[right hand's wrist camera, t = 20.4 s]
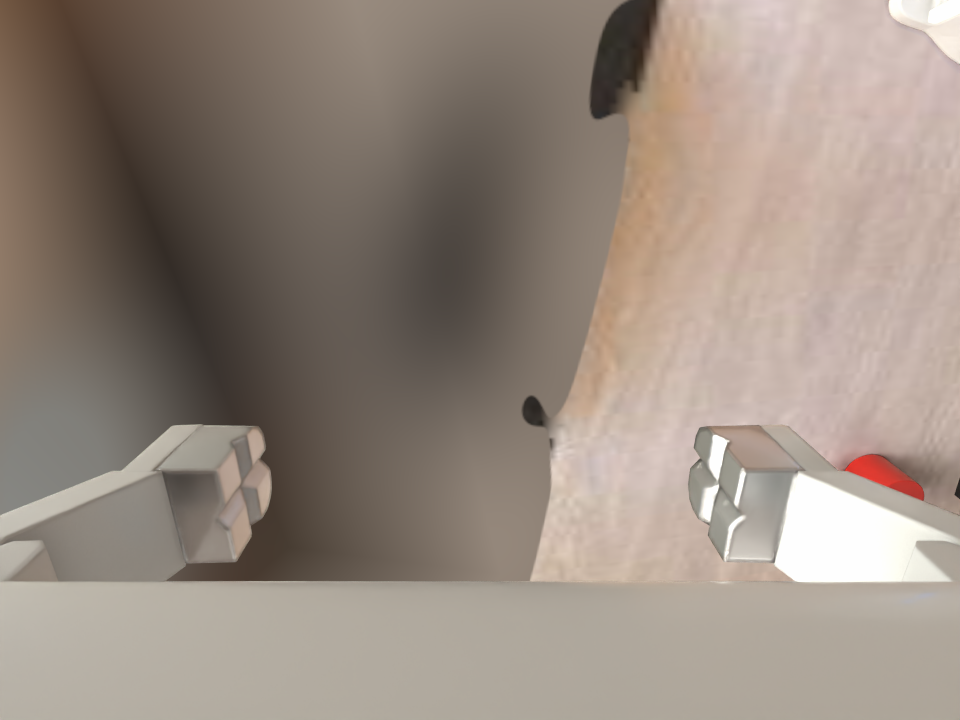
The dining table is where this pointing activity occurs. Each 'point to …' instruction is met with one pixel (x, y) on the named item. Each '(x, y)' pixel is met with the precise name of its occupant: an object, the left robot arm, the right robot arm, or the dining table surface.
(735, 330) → the dining table surface
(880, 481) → the canister
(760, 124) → the dining table surface
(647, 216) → the dining table surface
